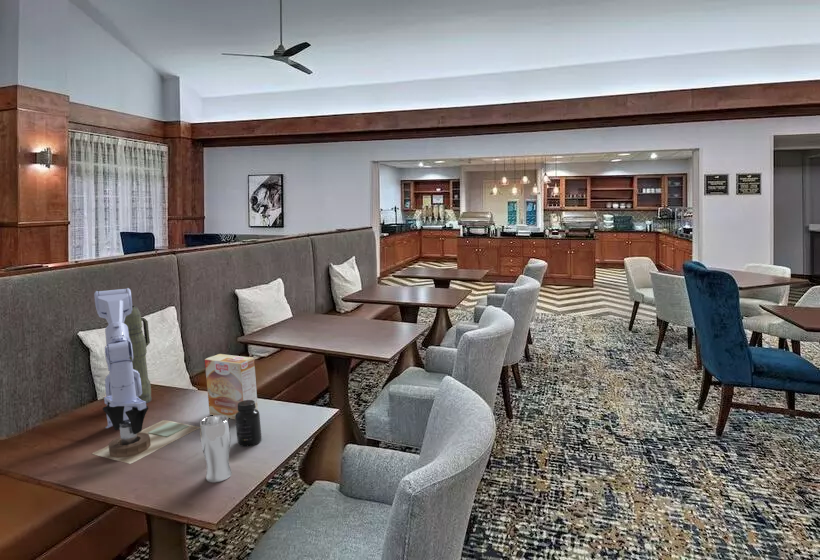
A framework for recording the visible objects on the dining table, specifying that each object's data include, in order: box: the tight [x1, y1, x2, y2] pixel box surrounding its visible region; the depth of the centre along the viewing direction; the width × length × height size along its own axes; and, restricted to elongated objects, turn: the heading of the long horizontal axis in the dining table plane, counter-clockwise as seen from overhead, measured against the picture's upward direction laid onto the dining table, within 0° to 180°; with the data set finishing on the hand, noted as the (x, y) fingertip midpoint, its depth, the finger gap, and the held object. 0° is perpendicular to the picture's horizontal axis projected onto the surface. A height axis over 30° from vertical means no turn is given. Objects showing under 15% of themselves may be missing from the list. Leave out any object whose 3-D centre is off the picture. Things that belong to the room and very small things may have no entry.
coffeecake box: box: [204, 353, 259, 420], centre depth 164 cm, size 15×7×20 cm, turn 67°
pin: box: [119, 419, 138, 445], centre depth 140 cm, size 4×4×8 cm
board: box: [91, 419, 200, 465], centre depth 146 cm, size 16×24×4 cm, turn 156°
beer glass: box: [199, 415, 233, 483], centre depth 125 cm, size 7×7×15 cm
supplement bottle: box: [234, 400, 263, 448], centre depth 144 cm, size 7×7×12 cm
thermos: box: [124, 305, 152, 404], centre depth 177 cm, size 9×12×35 cm
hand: (128, 430), depth 140 cm, fingers open, 7 cm apart
